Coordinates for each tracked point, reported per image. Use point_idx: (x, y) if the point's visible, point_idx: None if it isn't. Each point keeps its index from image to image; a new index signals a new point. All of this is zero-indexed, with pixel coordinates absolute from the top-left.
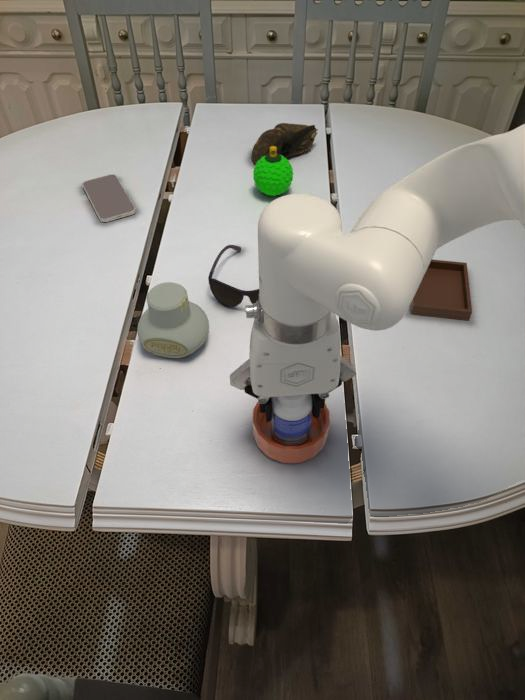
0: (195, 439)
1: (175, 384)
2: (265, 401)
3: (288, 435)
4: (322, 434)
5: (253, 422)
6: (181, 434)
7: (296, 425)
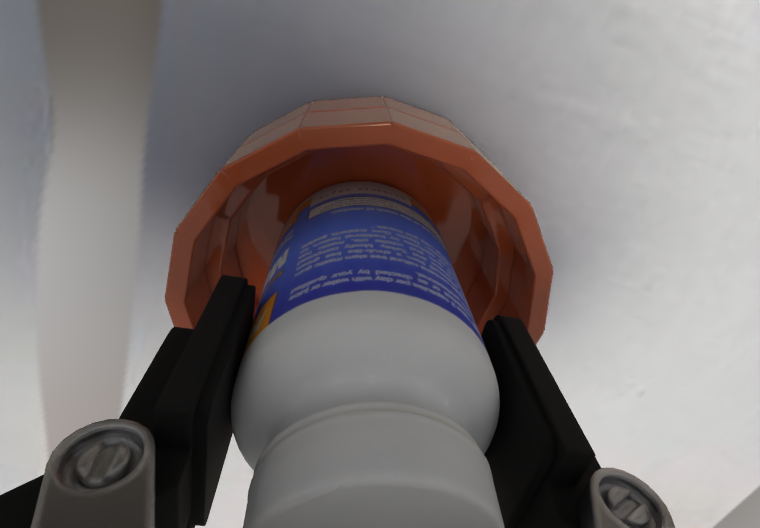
0: (691, 304)
1: (640, 472)
2: (598, 486)
3: (407, 224)
4: (228, 177)
5: (544, 325)
6: (720, 330)
7: (374, 260)
